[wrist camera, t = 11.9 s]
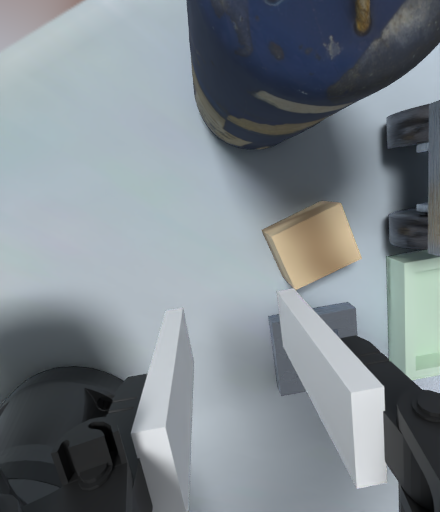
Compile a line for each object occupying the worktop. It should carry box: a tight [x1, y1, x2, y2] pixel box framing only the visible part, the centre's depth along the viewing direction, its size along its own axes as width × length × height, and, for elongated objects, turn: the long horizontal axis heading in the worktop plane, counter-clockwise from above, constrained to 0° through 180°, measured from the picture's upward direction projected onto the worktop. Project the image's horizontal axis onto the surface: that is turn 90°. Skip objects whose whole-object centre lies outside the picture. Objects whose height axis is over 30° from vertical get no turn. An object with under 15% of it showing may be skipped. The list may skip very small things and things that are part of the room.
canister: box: [187, 0, 440, 150], centre depth 16 cm, size 10×10×18 cm
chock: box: [262, 201, 362, 290], centre depth 26 cm, size 6×5×4 cm
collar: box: [268, 302, 357, 396], centre depth 29 cm, size 8×8×2 cm
